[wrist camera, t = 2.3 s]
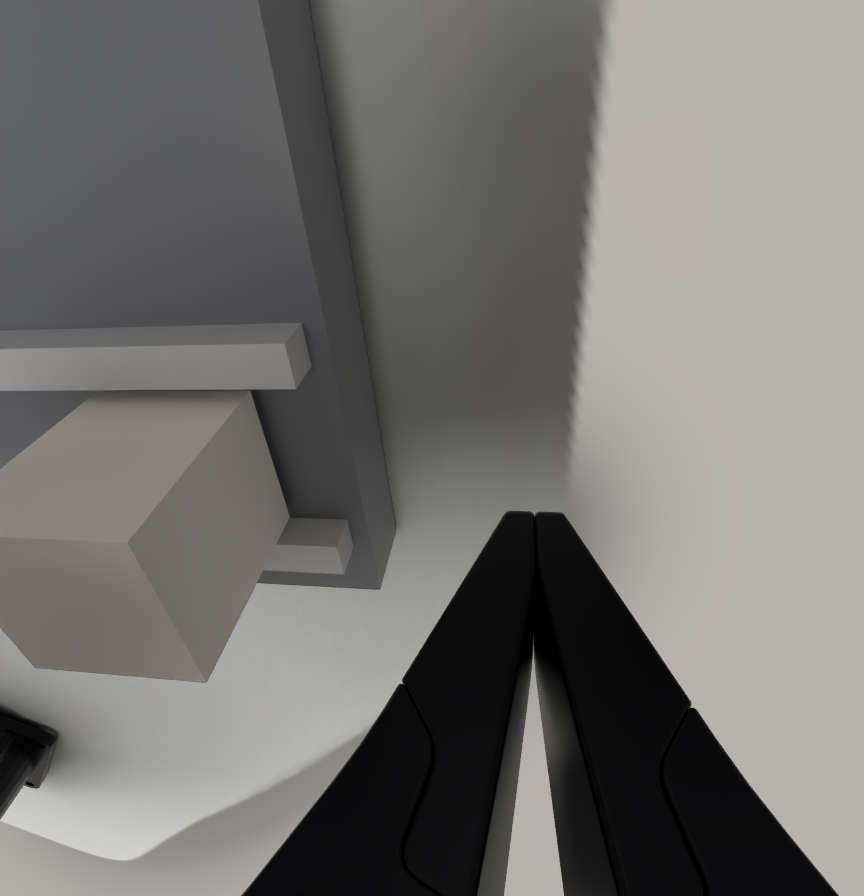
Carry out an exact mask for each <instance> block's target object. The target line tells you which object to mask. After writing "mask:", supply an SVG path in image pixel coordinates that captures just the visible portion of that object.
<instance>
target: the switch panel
mask: <svg viewBox="0 0 864 896" xmlns="http://www.w3.org/2000/svg"><path fill="white" fill-rule="evenodd" d="M220 390H250V392H251V395H252V398H253V401H254V404H255V408H256V411H257V414H258V417H259V420H260V423H261V427H262V430H263V433H264V436H265V439H266V443H267V446H268V449H269V452H270V455H271V458H272V462H273V465H274V468H275V471H276V474H277V478H278V481H279V484H280V487H281V490H282V493H283V497H284V500H285V503H286V506H287V509H288V513H289V516H290V518H289V520H288V522H287V524H286V526H285V528H284V530H283V532H282V534H281V536H280V538H279V540H278V542H277V544H276V546H275V548H274V550H273V552H272V554H271V556H270V558H269V560H268V562H267V564H266V566H265V568H264V570H263V572H262V574H261V576H260V578H259V580H258V581H257V583H266V584H284V585H303V586H321V587H339V588H358V589H376V590H380V588H381V585H382V581H383V577H384V574H385V570H386V566H387V562H388V559H389V555H390V551H391V548H392V544H393V540H394V536H395V533H396V525H395V518H394V512H393V506H392V500H391V494H390V488H389V482H388V476H387V470H386V464H385V458H384V452H383V446H382V440H381V434H380V428H379V422H378V416H377V410H376V404H375V398H374V392H373V386H372V380H371V374H370V368H369V362H368V356H367V350H366V344H365V338H364V332H363V326H362V320H361V314H360V308H359V302H358V296H357V289H356V283H355V277H354V271H353V265H352V259H351V253H350V247H349V241H348V235H347V229H346V223H345V217H344V211H343V205H342V199H341V193H340V187H339V181H338V175H337V169H336V163H335V157H334V151H333V145H332V139H331V133H330V127H329V121H328V115H327V109H326V103H325V97H324V91H323V85H322V79H321V73H320V67H319V60H318V54H317V48H316V42H315V36H314V30H313V24H312V18H311V12H310V6H309V0H0V469H1V468H2V467H3V466H5V465H6V464H7V463H8V462H10V461H11V460H12V459H13V458H15V457H16V456H17V455H18V454H20V453H21V452H22V451H23V450H25V449H26V448H27V447H28V446H30V445H31V444H32V443H33V442H35V441H36V440H37V439H38V438H40V437H41V436H42V435H43V434H45V433H46V432H47V431H48V430H50V429H51V428H52V427H53V426H55V425H56V424H57V423H58V422H60V421H61V420H62V419H63V418H65V417H66V416H67V415H68V414H70V413H71V412H72V411H73V410H75V409H76V408H77V407H78V406H80V405H81V404H82V403H83V402H85V401H86V400H87V399H88V398H90V397H91V396H92V395H93V394H95V393H96V392H97V391H220Z"/></svg>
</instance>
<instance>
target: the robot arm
mask: <svg viewBox="0 0 864 896" xmlns="http://www.w3.org/2000/svg"><path fill="white" fill-rule="evenodd" d="M533 645H534V662H535V672H536V681H537V689H538V695H539V704H540V711H541V720H542V727H543V735H544V743H545V750H546V758H547V766H548V774H549V781H550V789H551V797H552V805H553V812H554V819H555V828H556V835H557V843H558V851H559V858H560V867H561V874H562V882H563V890H564V896H839V895H838V894H837V893H836V892H835V891H834V889H833V888H832V887H831V886H830V884H829V883H828V882H827V881H826V880H825V878H824V877H823V876H822V875H821V874H820V872H819V871H818V870H817V869H816V867H815V866H814V865H813V864H812V862H811V861H810V860H809V859H808V858H807V856H806V855H805V854H804V853H803V852H802V850H801V849H800V848H799V847H798V845H797V844H796V843H795V842H794V841H793V839H792V838H791V837H790V836H789V835H788V833H787V832H786V831H785V829H784V828H783V827H782V826H781V824H780V823H779V822H778V821H777V819H776V818H775V817H774V815H773V814H772V813H771V812H770V810H769V809H768V808H767V807H766V805H765V804H764V803H763V802H762V800H761V799H760V798H759V796H758V795H757V794H756V793H755V791H754V790H753V789H752V788H751V786H750V785H749V784H748V782H747V781H746V780H745V778H744V777H743V776H742V774H741V773H740V771H739V770H738V769H737V767H736V766H735V764H734V763H733V762H732V760H731V759H730V757H729V756H728V755H727V753H726V752H725V750H724V749H723V748H722V746H721V745H720V744H719V742H718V741H717V739H716V738H715V736H714V735H713V733H712V732H711V730H710V729H709V728H708V726H707V724H706V723H705V721H704V720H703V718H702V717H701V715H700V714H699V713H698V711H697V710H696V709H695V708H690V707H691V701H690V700H689V698H688V697H687V695H686V694H685V692H684V691H683V689H682V688H681V686H680V685H679V684H678V682H677V681H676V679H675V678H674V676H673V675H672V673H671V672H670V670H669V669H668V667H667V666H666V664H665V663H664V661H663V660H662V658H661V657H660V656H659V654H658V652H657V651H656V649H655V648H654V647H653V645H652V644H651V642H650V641H649V639H648V638H647V636H646V635H645V633H644V632H643V630H642V629H641V627H640V626H639V624H638V623H637V621H636V620H635V618H634V617H633V615H632V614H631V613H630V611H629V610H628V608H627V607H626V605H625V604H624V602H623V601H622V599H621V598H620V596H619V595H618V593H617V592H616V591H615V589H614V587H613V586H612V585H611V583H610V581H609V580H608V579H607V577H606V576H605V574H604V573H603V571H602V570H601V568H600V567H599V565H598V564H597V562H596V561H595V559H594V558H593V556H592V555H591V554H590V552H589V550H588V549H587V548H586V546H585V545H584V543H583V542H582V540H581V539H580V537H579V536H578V534H577V533H576V531H575V530H574V528H573V527H572V525H571V524H570V522H569V521H568V519H567V518H566V517H565V515H564V514H562V513H560V512H537V513H536V514H535V517H534V514H533V513H532V512H530V511H508V512H506V513H505V514H504V516H503V517H502V519H501V521H500V522H499V524H498V525H497V527H496V529H495V530H494V532H493V533H492V535H491V537H490V538H489V540H488V542H487V543H486V545H485V546H484V548H483V550H482V551H481V553H480V554H479V556H478V558H477V559H476V561H475V563H474V564H473V566H472V567H471V569H470V571H469V572H468V574H467V575H466V577H465V579H464V580H463V582H462V584H461V585H460V587H459V588H458V590H457V592H456V593H455V595H454V596H453V598H452V600H451V601H450V603H449V605H448V606H447V608H446V609H445V611H444V613H443V614H442V616H441V617H440V619H439V621H438V622H437V624H436V626H435V627H434V629H433V630H432V632H431V634H430V635H429V637H428V638H427V640H426V642H425V643H424V645H423V647H422V648H421V650H420V651H419V653H418V655H417V656H416V658H415V660H414V661H413V663H412V664H411V666H410V668H409V669H408V671H407V672H406V674H405V676H404V677H403V679H402V683H403V684H399V685H398V686H397V688H396V690H395V691H394V693H393V695H392V696H391V698H390V699H389V701H388V703H387V704H386V706H385V707H384V709H383V711H382V712H381V714H380V715H379V717H378V718H377V720H376V721H375V723H374V724H373V726H372V727H371V729H370V730H369V732H368V733H367V735H366V736H365V738H364V739H363V741H362V742H361V744H360V745H359V747H358V748H357V749H356V750H355V752H354V753H353V755H352V756H351V757H350V759H349V760H348V761H347V763H346V764H345V765H344V766H343V768H342V769H341V770H340V772H339V773H338V774H337V776H336V777H335V779H334V780H333V781H332V782H331V784H330V785H329V786H328V788H327V789H326V790H325V791H324V793H323V794H322V795H321V796H320V798H319V799H318V800H317V801H316V803H315V804H314V805H313V806H312V808H311V809H310V810H309V812H308V813H307V814H306V815H305V817H304V818H303V819H302V820H301V822H300V823H299V824H298V825H297V827H296V828H295V829H294V830H293V832H292V833H291V834H290V836H289V837H288V838H287V839H286V841H285V842H284V843H283V845H282V846H281V847H280V848H279V849H278V851H277V852H276V853H275V854H274V856H273V857H272V858H271V859H270V861H269V862H268V863H267V864H266V866H265V867H264V868H263V870H262V871H261V872H260V873H259V875H258V876H257V877H256V878H255V880H254V881H253V882H252V883H251V885H250V886H249V887H248V888H247V889H246V891H245V892H244V893H243V894H242V895H241V896H504V888H505V881H506V873H507V865H508V857H509V849H510V841H511V832H512V824H513V816H514V808H515V800H516V792H517V784H518V776H519V768H520V759H521V751H522V743H523V735H524V727H525V719H526V711H527V703H528V695H529V686H530V679H531V669H532V659H533ZM56 742H57V739H56V738H55V737H54V736H53V735H51V734H49V733H47V732H44V731H42V730H39V729H36V728H34V727H31V726H28V725H25V724H23V723H20V722H17V721H15V720H12V719H9V718H7V717H4V716H1V715H0V819H1V818H2V816H3V815H4V814H5V812H6V811H7V809H8V808H9V806H10V805H11V803H12V802H13V800H14V799H15V797H16V796H17V794H18V793H19V792H20V790H21V789H22V787H23V786H27V787H31V788H39V787H40V785H41V784H42V782H43V781H44V779H45V777H46V773H47V770H48V767H49V764H50V761H51V757H52V754H53V751H54V748H55V745H56Z"/></svg>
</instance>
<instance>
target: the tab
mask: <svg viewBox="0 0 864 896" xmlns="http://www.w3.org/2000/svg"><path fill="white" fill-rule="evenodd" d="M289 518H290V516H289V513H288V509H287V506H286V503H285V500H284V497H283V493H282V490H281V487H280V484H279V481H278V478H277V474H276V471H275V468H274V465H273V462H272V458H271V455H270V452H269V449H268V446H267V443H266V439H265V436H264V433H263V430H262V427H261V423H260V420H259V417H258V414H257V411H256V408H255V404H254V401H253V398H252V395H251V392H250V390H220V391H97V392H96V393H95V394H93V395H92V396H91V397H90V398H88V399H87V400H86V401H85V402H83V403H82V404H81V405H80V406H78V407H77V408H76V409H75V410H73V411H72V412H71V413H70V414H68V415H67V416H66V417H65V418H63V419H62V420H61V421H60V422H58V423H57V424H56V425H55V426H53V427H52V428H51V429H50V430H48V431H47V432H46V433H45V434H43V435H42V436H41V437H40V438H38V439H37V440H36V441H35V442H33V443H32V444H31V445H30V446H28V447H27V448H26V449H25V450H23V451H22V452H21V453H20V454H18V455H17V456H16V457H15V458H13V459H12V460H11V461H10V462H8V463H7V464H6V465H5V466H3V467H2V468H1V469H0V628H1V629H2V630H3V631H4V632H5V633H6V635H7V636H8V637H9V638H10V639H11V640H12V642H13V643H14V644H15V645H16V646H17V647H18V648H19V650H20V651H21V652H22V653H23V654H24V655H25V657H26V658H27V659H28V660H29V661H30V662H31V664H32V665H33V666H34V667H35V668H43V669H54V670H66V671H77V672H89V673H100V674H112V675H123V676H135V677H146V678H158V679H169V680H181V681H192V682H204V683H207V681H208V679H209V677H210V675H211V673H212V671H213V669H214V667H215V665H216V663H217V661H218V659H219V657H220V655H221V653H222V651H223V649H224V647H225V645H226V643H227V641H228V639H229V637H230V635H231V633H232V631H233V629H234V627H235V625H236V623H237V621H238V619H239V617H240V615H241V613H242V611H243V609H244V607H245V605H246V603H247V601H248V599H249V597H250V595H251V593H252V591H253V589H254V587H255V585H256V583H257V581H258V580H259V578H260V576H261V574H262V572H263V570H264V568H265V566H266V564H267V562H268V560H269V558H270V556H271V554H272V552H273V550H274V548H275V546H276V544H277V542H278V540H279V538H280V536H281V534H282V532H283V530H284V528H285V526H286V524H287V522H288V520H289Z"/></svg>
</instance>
